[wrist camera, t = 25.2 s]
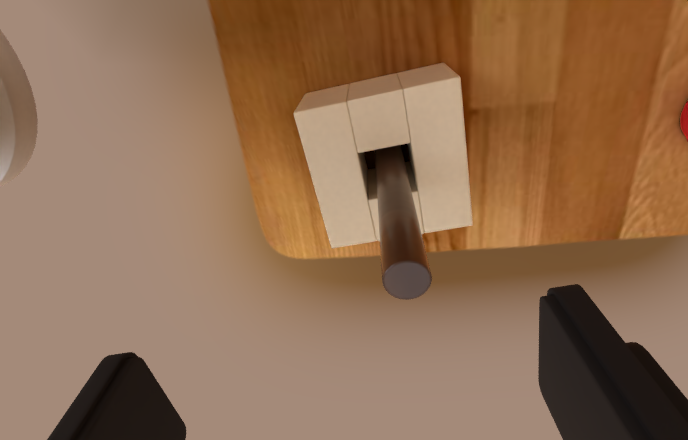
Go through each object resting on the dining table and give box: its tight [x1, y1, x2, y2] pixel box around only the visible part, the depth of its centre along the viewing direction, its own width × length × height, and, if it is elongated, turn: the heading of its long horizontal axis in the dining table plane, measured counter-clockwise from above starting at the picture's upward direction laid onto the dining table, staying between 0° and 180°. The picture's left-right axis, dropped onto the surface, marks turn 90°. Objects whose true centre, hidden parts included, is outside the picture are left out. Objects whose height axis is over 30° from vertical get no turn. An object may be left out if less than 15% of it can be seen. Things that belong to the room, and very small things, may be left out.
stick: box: [375, 145, 432, 299], centre depth 21 cm, size 2×2×15 cm
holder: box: [294, 63, 473, 248], centre depth 26 cm, size 9×9×5 cm
